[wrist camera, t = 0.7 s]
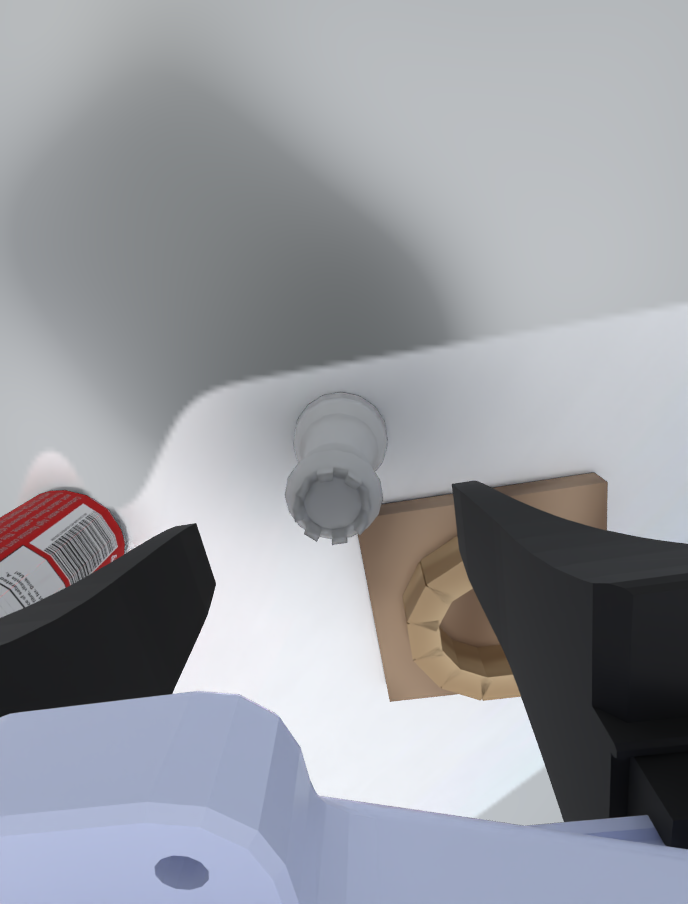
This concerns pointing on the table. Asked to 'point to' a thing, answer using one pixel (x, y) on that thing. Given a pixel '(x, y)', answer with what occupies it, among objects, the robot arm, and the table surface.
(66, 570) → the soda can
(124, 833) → the robot arm
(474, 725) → the table surface
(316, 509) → the rook chess piece
